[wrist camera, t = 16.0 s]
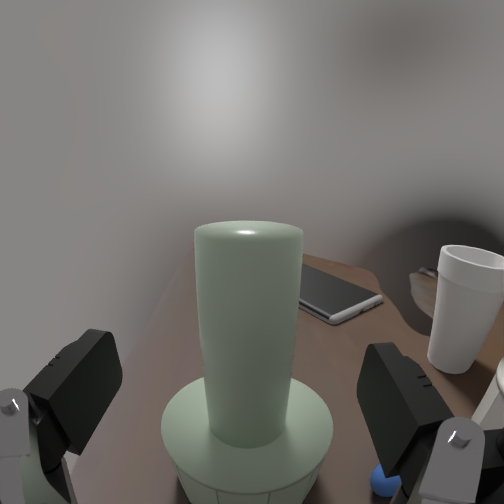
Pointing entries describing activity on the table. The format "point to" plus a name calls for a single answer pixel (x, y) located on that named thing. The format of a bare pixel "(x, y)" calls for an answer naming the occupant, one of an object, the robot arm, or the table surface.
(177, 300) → the table surface
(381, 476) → the marble
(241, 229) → the pale green pedestal post
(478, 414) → the white joystick
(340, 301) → the smartphone
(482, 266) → the foam cup
